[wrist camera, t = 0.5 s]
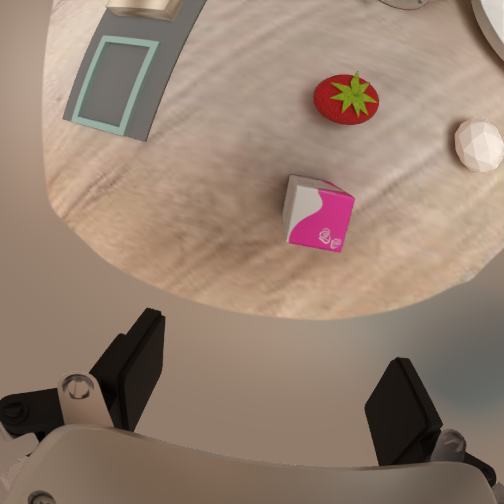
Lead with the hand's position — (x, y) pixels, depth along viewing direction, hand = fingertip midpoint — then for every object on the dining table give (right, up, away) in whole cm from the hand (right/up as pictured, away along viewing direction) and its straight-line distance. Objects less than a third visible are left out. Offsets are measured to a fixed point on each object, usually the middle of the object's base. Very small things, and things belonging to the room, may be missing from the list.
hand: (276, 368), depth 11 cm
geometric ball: (+30, +20, +22) cm, 43 cm away
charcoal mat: (-18, +34, +21) cm, 44 cm away
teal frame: (-20, +28, +23) cm, 42 cm away
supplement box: (+6, +11, +27) cm, 30 cm away
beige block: (-15, +41, +18) cm, 47 cm away
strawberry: (+10, +23, +23) cm, 34 cm away
